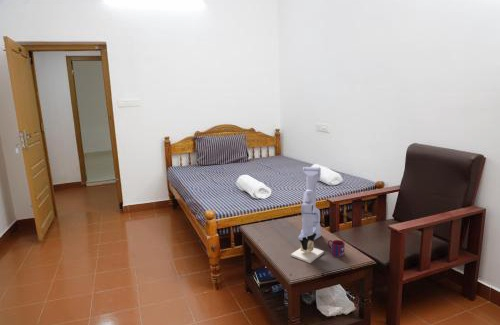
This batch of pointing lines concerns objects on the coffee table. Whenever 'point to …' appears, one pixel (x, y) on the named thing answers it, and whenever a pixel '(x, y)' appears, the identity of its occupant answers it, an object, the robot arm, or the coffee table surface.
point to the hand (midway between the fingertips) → (307, 247)
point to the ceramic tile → (307, 255)
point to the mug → (337, 248)
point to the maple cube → (308, 247)
